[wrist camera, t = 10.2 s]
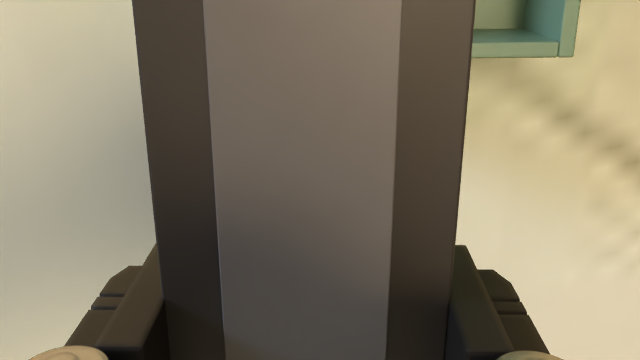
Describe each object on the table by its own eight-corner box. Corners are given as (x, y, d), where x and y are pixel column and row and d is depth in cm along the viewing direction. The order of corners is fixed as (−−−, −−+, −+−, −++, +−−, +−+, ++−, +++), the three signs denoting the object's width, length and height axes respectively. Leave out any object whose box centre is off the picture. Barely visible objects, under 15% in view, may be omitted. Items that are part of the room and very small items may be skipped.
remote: (224, 539, 16) (197, 686, 13) (174, -154, 10) (104, -203, 7) (401, 541, 16) (419, 690, 13) (446, -154, 10) (498, -204, 7)
